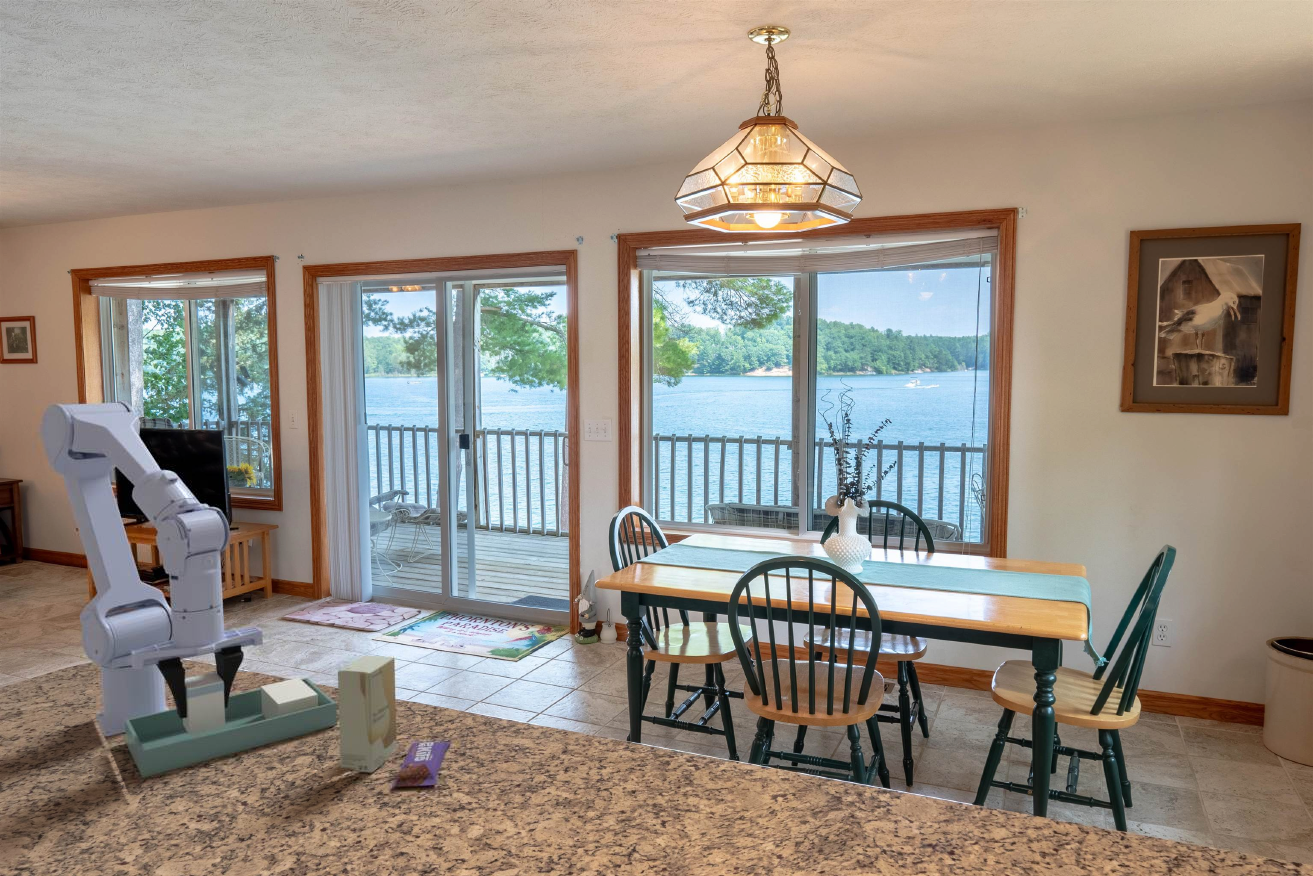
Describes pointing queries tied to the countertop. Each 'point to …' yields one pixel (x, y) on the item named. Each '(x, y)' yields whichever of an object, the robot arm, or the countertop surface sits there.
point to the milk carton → (204, 703)
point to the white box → (287, 698)
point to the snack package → (422, 764)
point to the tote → (219, 732)
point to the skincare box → (367, 713)
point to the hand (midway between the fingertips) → (202, 710)
